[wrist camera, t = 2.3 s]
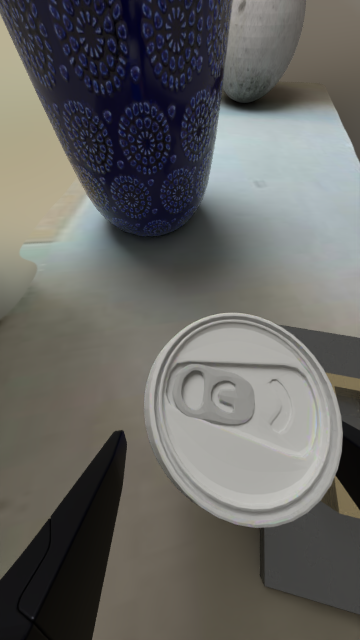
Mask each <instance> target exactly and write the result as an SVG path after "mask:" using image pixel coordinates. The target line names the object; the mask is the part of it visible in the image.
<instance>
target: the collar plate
mask: <svg viewBox="0 0 360 640" xmlns="http://www.w3.org/2000/svg"><path fill="white" fill-rule="evenodd" d="M276 325H277V324H276ZM278 326H280V327H282V328H284V329H285V330H286V331H288V332H289V333H291V334H292V335H294V336H295V337H296V338H297V339H298V340H299V341H300V342H302V343H303V344H304V345H305V346H306V347H307V349H308V350H309V351H310V352H311V353H312V354H313V355H314V356H315V358H316V359H317V361H318V362H319V364H320V365H321V366H322V368H323V369H324V371H325V373H326V375H327V377H328V379H329V381H330V382H331V385H332V387H333V390H334V393H335V395H336V398H337V401H338V405H339V410H340V414H341V420H342V421H344V422H346V423H348V424H350V425H351V426H353V427H355V428H357V429H359V430H360V338H357V337H351V336H345V335H338V334H332V333H326V332H320V331H314V330H308V329H301V328H295V327H289V326H283V325H278ZM260 577H261V579H262V581H263V583H264V586H267V587H270V588H273V589H277V590H280V591H283V592H287V593H290V594H293V595H297V596H300V597H303V598H306V599H310V600H313V601H316V602H320V603H323V604H326V605H330V606H333V607H336V608H340V609H343V610H346V611H350V612H353V613H356V614H360V510H359V509H358V507H357V506H356V504H355V503H354V501H353V500H352V499H351V497H350V496H349V494H348V493H347V491H346V490H345V489H344V487H343V486H342V484H341V483H340V481H339V480H338V478H337V477H336V476H335V477H334V479H333V482H332V484H331V486H330V488H329V489H328V490H327V492H326V493H325V495H324V496H323V498H322V499H321V501H319V502H318V503H317V504H316V505H315V506H314V507H313V508H312V509H311V510H310V511H309V512H308V513H306V514H304V515H303V516H301V517H299V518H297V519H296V520H294V521H292V522H289V523H286V524H282V525H279V526H275V527H262V528H260Z"/></svg>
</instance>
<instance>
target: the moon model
mask: <svg viewBox="0 0 360 640" xmlns="http://www.w3.org/2000/svg"><path fill="white" fill-rule="evenodd" d="M305 5H306V0H233V4H232V12H231V21H230V29H229V38H228V46H227V55H226V63H225V72H224V80H223V88H222V89H223V90H224V92H225V93H226V94H227V95H228V96H229V97H230V98H231V99H233V100H235V101H237V102H241V103H248V102H252V101H255V100H257V99H259V98H261V97H262V96H264V95H265V94H267V93H268V92H269V91H270V90H271V89H272V88H273V87H274V86H275V85H276V84H277V82H278V81H279V79H280V78H281V77H282V75H283V74H284V72H285V71H286V69H287V67H288V65H289V63H290V61H291V60H292V57H293V55H294V53H295V50H296V47H297V45H298V41H299V38H300V35H301V31H302V27H303V22H304V15H305Z"/></svg>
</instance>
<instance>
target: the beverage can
mask: <svg viewBox="0 0 360 640" xmlns="http://www.w3.org/2000/svg"><path fill="white" fill-rule="evenodd" d="M144 415H145V424H146V429H147V433H148V437H149V441H150V444H151V447H152V449H153V451H154V454H155V456H156V459H157V460H158V462H159V464H160V465H161V467H162V469H163V471H164V472H165V474H166V475H167V476H168V478H169V479H170V480H171V481H172V482H173V484H174V485H175V486H176V487H177V489H179V490H180V491H181V492H182V493H183V494H184V495H185V496H187V497H188V498H189V499H190V500H191V501H192V502H194V503H196V504H197V505H199V506H200V507H202V508H203V509H205V510H207V511H208V512H210V513H211V514H213V515H215V516H216V517H218V518H220V519H223V520H226V521H228V522H231V523H233V524H236V525H241V526H247V527H253V528H262V527H275V526H279V525H282V524H286V523H289V522H292V521H294V520H296V519H297V518H299V517H301V516H303V515H304V514H306V513H308V512H309V511H310V510H311V509H312V508H313V507H314V506H315V505H316V504H317V503H318V502H319V501H321V499H322V498H323V496H324V495H325V493H326V492H327V490H328V489H329V488H330V486H331V484H332V482H333V479H334V477H335V475H336V472H337V470H338V466H339V462H340V457H341V453H342V438H343V431H342V421H341V414H340V410H339V405H338V401H337V398H336V395H335V393H334V390H333V387H332V385H331V382H330V381H329V379H328V377H327V375H326V373H325V371H324V369H323V368H322V366H321V365H320V364H319V362H318V361H317V359H316V358H315V356H314V355H313V354H312V353H311V352H310V351H309V350H308V349H307V347H306V346H305V345H304V344H303V343H302V342H300V341H299V340H298V339H297V338H296V337H295V336H294V335H292V334H291V333H289V332H288V331H286V330H285V329H284V328H282V327H280V326H278V325H276V324H275V323H273V322H271V321H268V320H266V319H263V318H260V317H257V316H253V315H249V314H242V313H221V314H216V315H211V316H208V317H205V318H202V319H199V320H197V321H195V322H194V323H192V324H190V325H188V326H187V327H185V328H184V329H183V330H181V331H180V332H179V333H178V334H177V335H176V336H174V337H173V338H172V339H171V340H170V341H169V342H168V343H167V344H166V345H165V347H164V348H163V349H162V351H161V352H160V353H159V355H158V356H157V358H156V360H155V362H154V364H153V366H152V368H151V371H150V374H149V377H148V380H147V385H146V390H145V398H144Z"/></svg>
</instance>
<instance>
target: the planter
mask: <svg viewBox="0 0 360 640" xmlns="http://www.w3.org/2000/svg"><path fill="white" fill-rule="evenodd" d="M232 4H233V0H0V14H1V16H2V18H3V21H4V23H5V25H6V27H7V29H8V31H9V34H10V36H11V38H12V40H13V42H14V45H15V47H16V49H17V51H18V53H19V56H20V58H21V60H22V62H23V64H24V66H25V69H26V71H27V73H28V75H29V77H30V80H31V82H32V84H33V86H34V88H35V91H36V93H37V95H38V97H39V99H40V101H41V103H42V105H43V107H44V110H45V112H46V114H47V116H48V118H49V120H50V122H51V124H52V126H53V128H54V130H55V132H56V135H57V137H58V139H59V141H60V143H61V145H62V147H63V149H64V151H65V154H66V156H67V157H68V159H69V161H70V163H71V165H72V167H73V169H74V171H75V173H76V175H77V177H78V179H79V181H80V182H81V184H82V186H83V188H84V190H85V192H86V194H87V195H88V197H89V198H90V200H91V201H92V203H93V204H94V206H95V207H96V209H97V210H98V211H99V212H100V213H101V214H102V215H103V216H104V217H105V218H106V219H107V220H108V221H110V222H111V223H112V224H113V225H115V226H116V227H118V228H120V229H121V230H123V231H125V232H128V233H131V234H134V235H139V236H159V235H164V234H167V233H170V232H172V231H174V230H176V229H178V228H179V227H181V226H182V225H184V224H185V223H186V222H187V221H188V220H189V219H190V218H191V217H192V216H193V214H194V213H195V211H196V210H197V208H198V207H199V205H200V203H201V201H202V199H203V197H204V194H205V191H206V187H207V184H208V180H209V174H210V169H211V164H212V158H213V152H214V146H215V140H216V132H217V125H218V117H219V110H220V102H221V95H222V88H223V80H224V72H225V63H226V55H227V46H228V38H229V29H230V21H231V12H232Z"/></svg>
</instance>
